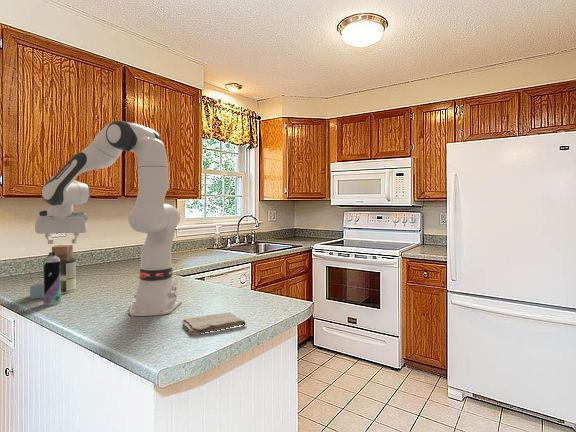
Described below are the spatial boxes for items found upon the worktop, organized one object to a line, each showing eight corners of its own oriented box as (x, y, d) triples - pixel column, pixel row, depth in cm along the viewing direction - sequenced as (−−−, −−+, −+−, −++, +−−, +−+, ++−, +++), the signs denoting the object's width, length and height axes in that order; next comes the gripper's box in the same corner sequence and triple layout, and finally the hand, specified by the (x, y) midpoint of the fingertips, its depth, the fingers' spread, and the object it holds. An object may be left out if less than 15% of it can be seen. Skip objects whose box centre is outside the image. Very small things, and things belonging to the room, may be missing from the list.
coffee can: (52, 295, 153) (52, 262, 153) (45, 291, 160) (45, 259, 160) (79, 291, 161) (79, 259, 160) (71, 287, 168) (71, 257, 167)
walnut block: (67, 260, 158) (66, 246, 157) (51, 260, 156) (51, 246, 156) (72, 258, 163) (72, 245, 163) (58, 258, 162) (57, 245, 162)
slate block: (44, 297, 150) (44, 285, 150) (30, 298, 148) (30, 286, 148) (47, 294, 155) (46, 283, 155) (32, 295, 153) (32, 283, 153)
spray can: (48, 306, 137) (47, 253, 137) (41, 304, 140) (40, 252, 140) (63, 302, 142) (62, 251, 141) (56, 300, 145) (55, 250, 144)
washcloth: (179, 326, 118) (179, 317, 118) (231, 317, 127) (231, 309, 127) (191, 338, 108) (191, 328, 108) (246, 327, 117) (246, 318, 117)
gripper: (89, 211, 164) (90, 242, 165) (39, 212, 161) (40, 243, 161) (84, 212, 158) (85, 243, 158) (32, 212, 154) (33, 245, 155)
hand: (62, 243), depth 160 cm, fingers open, 8 cm apart
